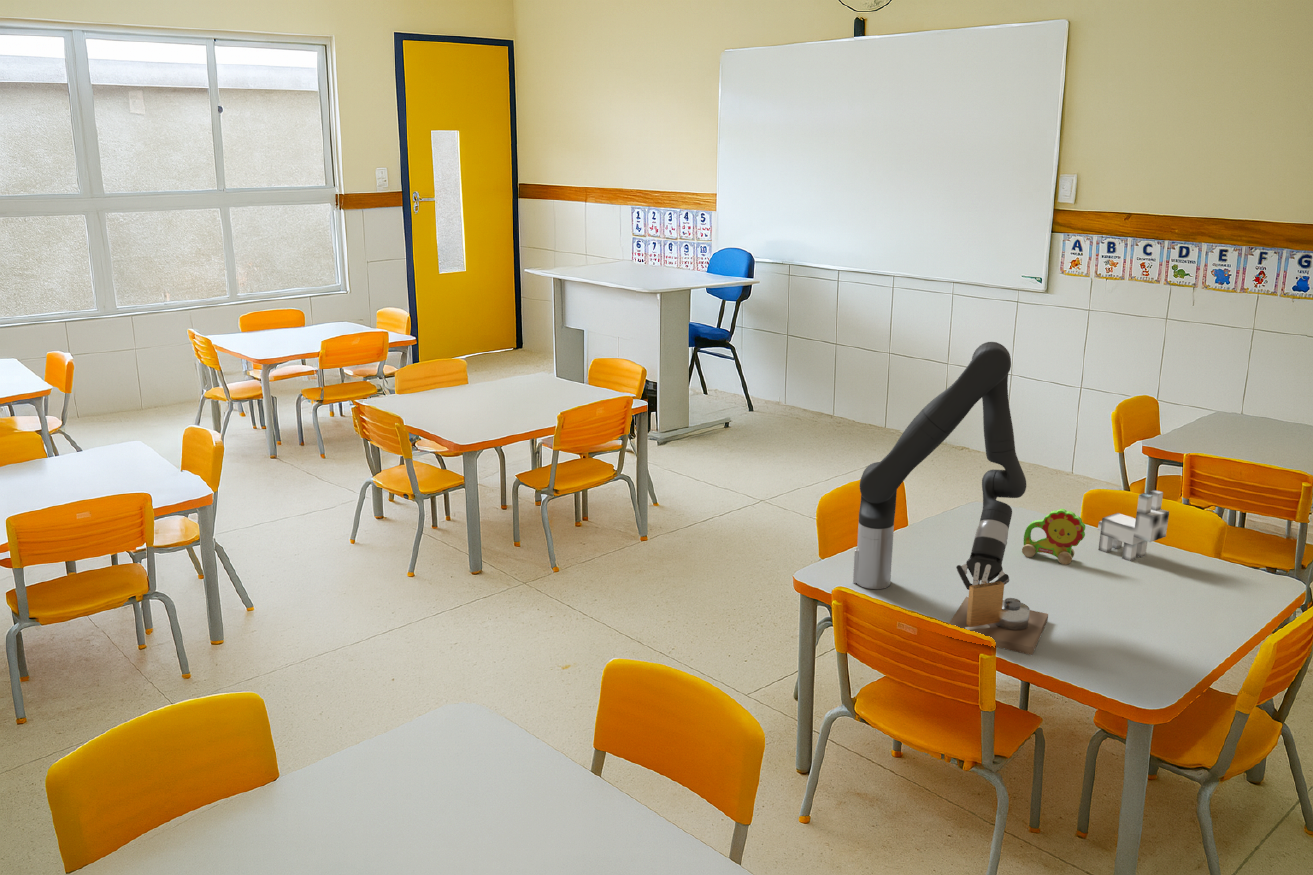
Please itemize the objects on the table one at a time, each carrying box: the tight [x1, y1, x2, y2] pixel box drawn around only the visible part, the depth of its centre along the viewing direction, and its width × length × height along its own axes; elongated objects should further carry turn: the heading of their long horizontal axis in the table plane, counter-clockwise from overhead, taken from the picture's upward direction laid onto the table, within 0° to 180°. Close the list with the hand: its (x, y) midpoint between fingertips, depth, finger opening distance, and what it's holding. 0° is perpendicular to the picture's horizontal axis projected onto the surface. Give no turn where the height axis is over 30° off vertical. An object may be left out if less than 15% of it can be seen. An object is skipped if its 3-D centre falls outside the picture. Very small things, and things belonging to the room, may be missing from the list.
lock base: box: [948, 596, 1049, 656], centre depth 241 cm, size 20×20×2 cm
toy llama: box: [1097, 489, 1170, 562], centre depth 283 cm, size 8×18×20 cm, turn 33°
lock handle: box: [966, 581, 1031, 630], centre depth 237 cm, size 16×8×11 cm, turn 108°
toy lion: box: [1021, 508, 1086, 565], centre depth 281 cm, size 16×5×15 cm, turn 58°
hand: (974, 606), depth 237 cm, fingers closed
